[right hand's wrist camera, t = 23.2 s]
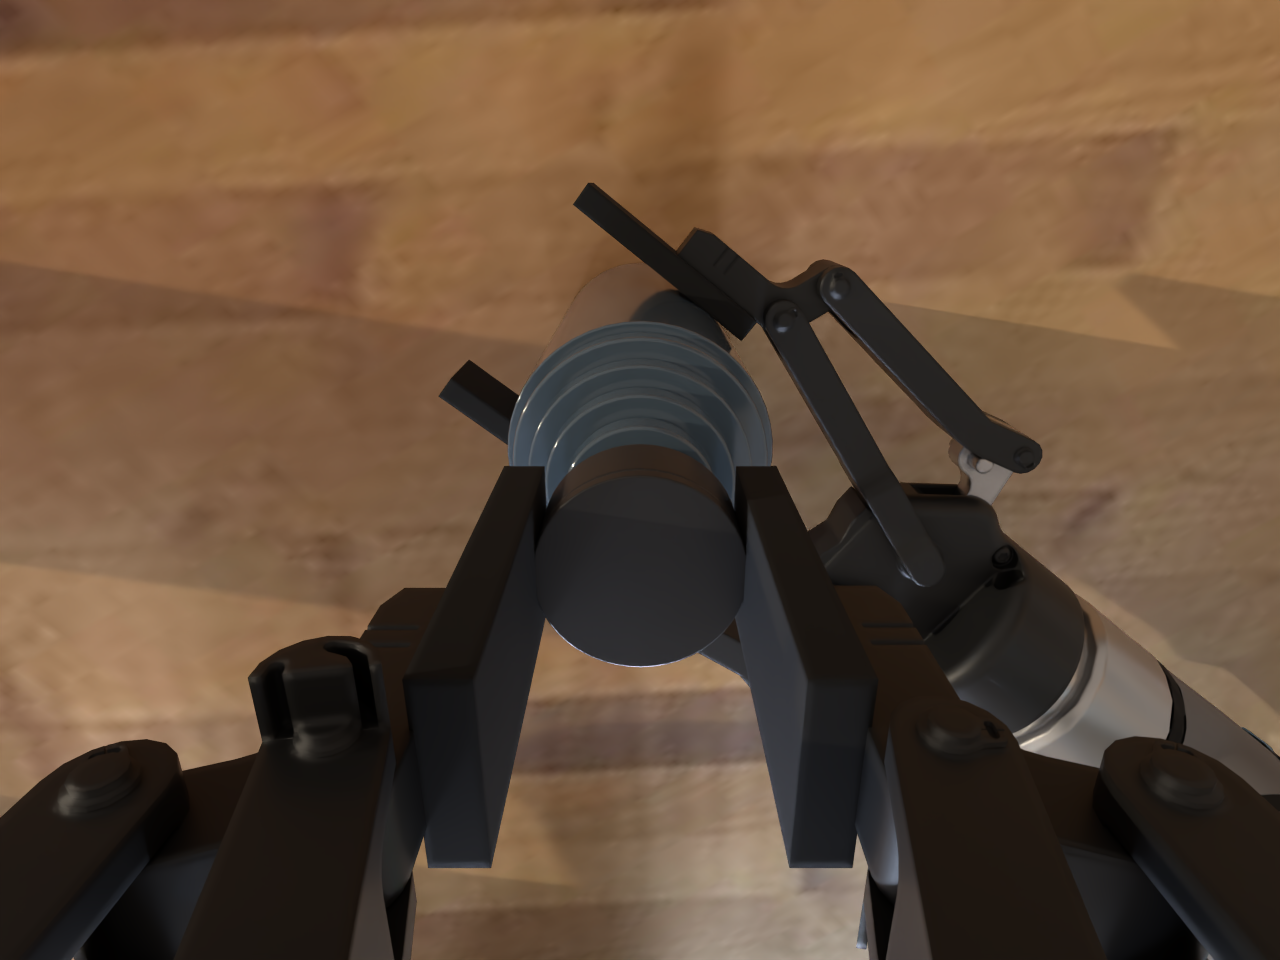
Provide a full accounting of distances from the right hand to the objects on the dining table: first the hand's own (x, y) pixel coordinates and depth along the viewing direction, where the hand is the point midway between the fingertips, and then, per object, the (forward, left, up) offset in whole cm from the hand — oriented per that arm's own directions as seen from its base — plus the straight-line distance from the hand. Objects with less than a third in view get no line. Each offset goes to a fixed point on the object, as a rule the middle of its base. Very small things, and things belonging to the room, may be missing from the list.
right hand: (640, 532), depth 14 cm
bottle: (0, 0, -18) cm, 18 cm away
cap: (0, 0, +1) cm, 1 cm away
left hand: (+2, +5, -12) cm, 13 cm away
